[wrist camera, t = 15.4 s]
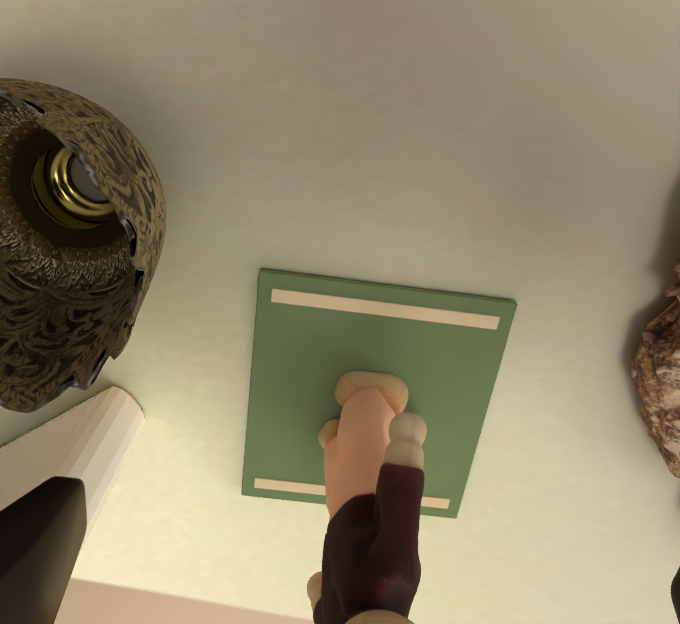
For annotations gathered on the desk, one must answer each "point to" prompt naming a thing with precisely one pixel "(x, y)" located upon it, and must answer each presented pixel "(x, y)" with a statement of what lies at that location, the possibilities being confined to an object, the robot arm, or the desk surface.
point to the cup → (69, 241)
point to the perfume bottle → (75, 450)
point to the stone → (661, 378)
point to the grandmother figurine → (370, 504)
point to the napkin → (372, 356)
